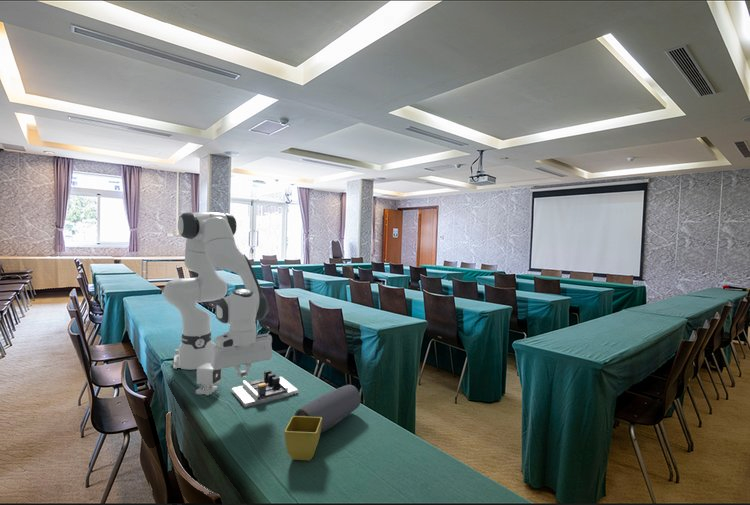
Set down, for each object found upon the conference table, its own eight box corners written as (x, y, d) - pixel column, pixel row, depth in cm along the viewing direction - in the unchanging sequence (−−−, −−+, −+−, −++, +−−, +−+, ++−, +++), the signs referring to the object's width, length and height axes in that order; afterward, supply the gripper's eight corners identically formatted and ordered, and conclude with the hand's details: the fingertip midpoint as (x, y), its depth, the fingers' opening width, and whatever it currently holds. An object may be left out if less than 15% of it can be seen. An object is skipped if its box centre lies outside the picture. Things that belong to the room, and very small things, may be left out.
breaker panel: (231, 391, 143) (231, 377, 143) (281, 380, 155) (281, 366, 155) (245, 407, 131) (245, 391, 131) (298, 393, 144) (298, 378, 143)
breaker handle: (257, 393, 136) (257, 384, 136) (264, 392, 138) (264, 382, 137) (259, 395, 135) (259, 385, 135) (265, 393, 136) (266, 384, 136)
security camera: (211, 396, 139) (211, 369, 138) (194, 394, 140) (194, 367, 140) (221, 389, 145) (221, 363, 145) (205, 387, 147) (205, 361, 146)
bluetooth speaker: (340, 407, 134) (341, 379, 133) (361, 415, 128) (362, 386, 128) (291, 435, 115) (292, 403, 115) (314, 446, 110) (314, 412, 109)
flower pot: (291, 445, 110) (292, 415, 109) (321, 446, 110) (322, 416, 109) (283, 464, 101) (284, 431, 100) (316, 465, 101) (316, 433, 100)
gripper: (268, 330, 139) (268, 367, 140) (209, 339, 127) (209, 380, 128) (275, 334, 134) (275, 372, 135) (214, 344, 122) (214, 386, 123)
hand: (242, 376), depth 131 cm, fingers closed
